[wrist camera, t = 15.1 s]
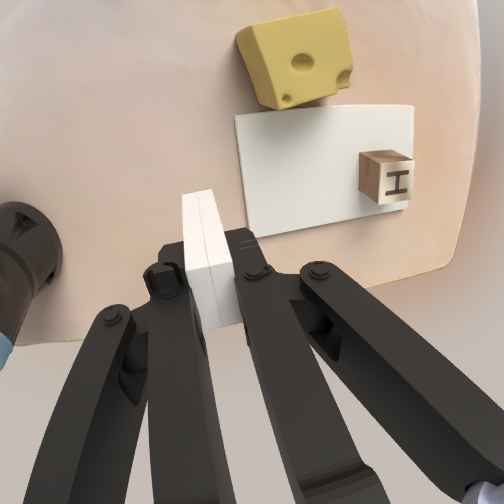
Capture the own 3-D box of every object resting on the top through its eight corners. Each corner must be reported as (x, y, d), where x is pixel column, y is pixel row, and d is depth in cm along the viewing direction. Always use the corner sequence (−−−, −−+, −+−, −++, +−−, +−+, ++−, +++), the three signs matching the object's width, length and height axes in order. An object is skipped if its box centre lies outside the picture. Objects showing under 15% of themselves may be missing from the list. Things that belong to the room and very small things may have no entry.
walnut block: (411, 199, 42) (389, 184, 47) (414, 161, 38) (391, 149, 43) (378, 205, 41) (358, 189, 46) (381, 164, 38) (359, 152, 43)
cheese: (327, 85, 38) (364, 91, 30) (253, 106, 38) (275, 115, 30) (306, 16, 32) (341, 4, 24) (228, 34, 32) (243, 21, 24)
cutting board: (249, 235, 48) (251, 238, 47) (233, 115, 38) (235, 116, 37) (403, 205, 51) (407, 208, 50) (409, 105, 41) (414, 106, 40)
